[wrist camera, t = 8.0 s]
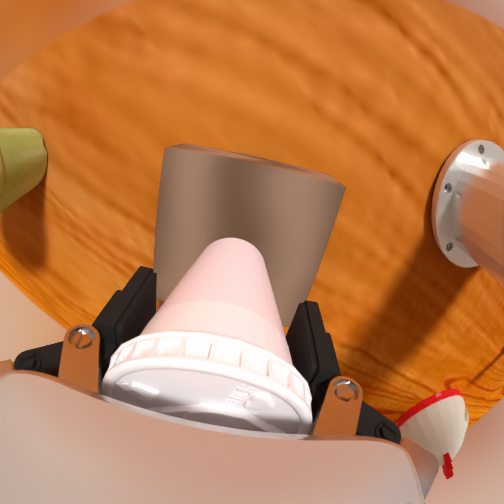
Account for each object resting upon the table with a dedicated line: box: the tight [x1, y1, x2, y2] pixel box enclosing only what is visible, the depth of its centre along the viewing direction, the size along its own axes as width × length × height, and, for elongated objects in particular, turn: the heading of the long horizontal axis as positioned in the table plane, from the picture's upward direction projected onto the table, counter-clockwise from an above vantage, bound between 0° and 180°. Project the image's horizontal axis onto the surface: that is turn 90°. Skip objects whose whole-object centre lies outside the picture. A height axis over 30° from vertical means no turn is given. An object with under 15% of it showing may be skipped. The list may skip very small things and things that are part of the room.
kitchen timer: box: [395, 389, 469, 479], centre depth 28 cm, size 14×14×15 cm
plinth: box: [153, 144, 346, 327], centre depth 19 cm, size 11×11×4 cm
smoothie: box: [101, 238, 313, 435], centre depth 9 cm, size 6×6×14 cm
